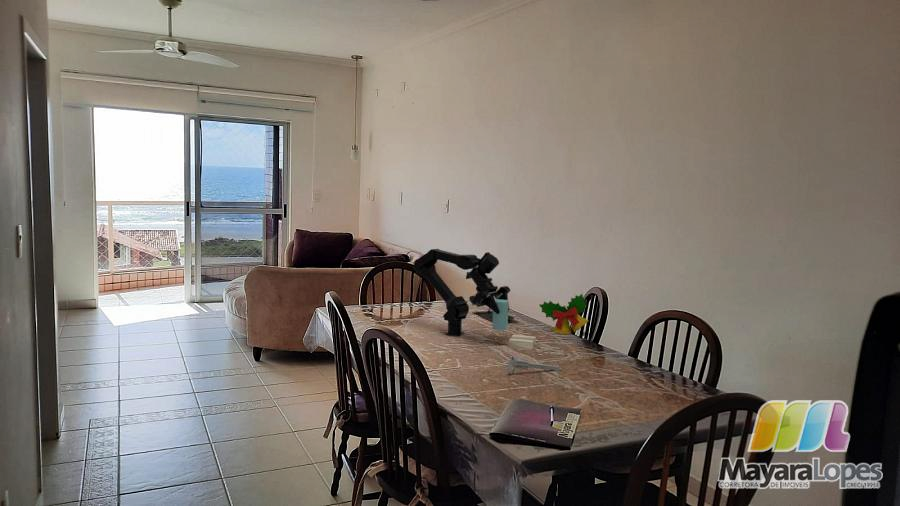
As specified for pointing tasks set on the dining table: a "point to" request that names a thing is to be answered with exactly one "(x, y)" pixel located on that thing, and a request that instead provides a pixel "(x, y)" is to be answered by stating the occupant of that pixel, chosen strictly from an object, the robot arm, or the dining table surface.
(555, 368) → the caliper
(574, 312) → the ornament
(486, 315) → the circuit board
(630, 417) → the dining table surface
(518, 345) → the birch block
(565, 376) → the dining table surface
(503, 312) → the teal block
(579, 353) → the dining table surface
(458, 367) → the dining table surface
